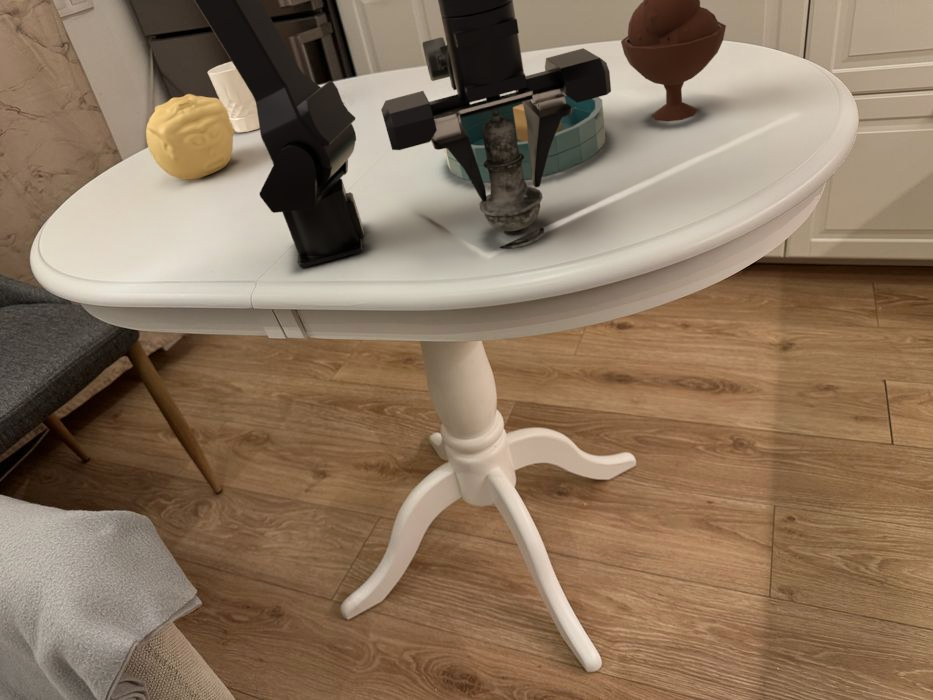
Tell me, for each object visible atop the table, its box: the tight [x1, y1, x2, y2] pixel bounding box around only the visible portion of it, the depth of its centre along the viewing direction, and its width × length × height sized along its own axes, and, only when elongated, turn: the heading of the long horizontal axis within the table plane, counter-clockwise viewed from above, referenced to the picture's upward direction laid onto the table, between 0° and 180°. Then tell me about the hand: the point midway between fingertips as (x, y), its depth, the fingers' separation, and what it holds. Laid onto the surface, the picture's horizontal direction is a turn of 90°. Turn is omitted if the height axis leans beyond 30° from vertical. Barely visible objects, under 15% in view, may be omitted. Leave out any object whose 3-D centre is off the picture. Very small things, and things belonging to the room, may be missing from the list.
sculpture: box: [145, 93, 235, 180], centre depth 100 cm, size 12×12×11 cm
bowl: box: [443, 95, 606, 184], centre depth 81 cm, size 19×19×4 cm
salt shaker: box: [478, 109, 545, 250], centre depth 62 cm, size 6×6×12 cm
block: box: [513, 104, 562, 142], centre depth 83 cm, size 4×4×4 cm
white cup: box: [207, 61, 260, 133], centre depth 116 cm, size 8×8×10 cm
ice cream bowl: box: [620, 0, 727, 123], centre depth 77 cm, size 11×11×15 cm
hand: (510, 192), depth 63 cm, fingers closed on salt shaker, 5 cm apart
